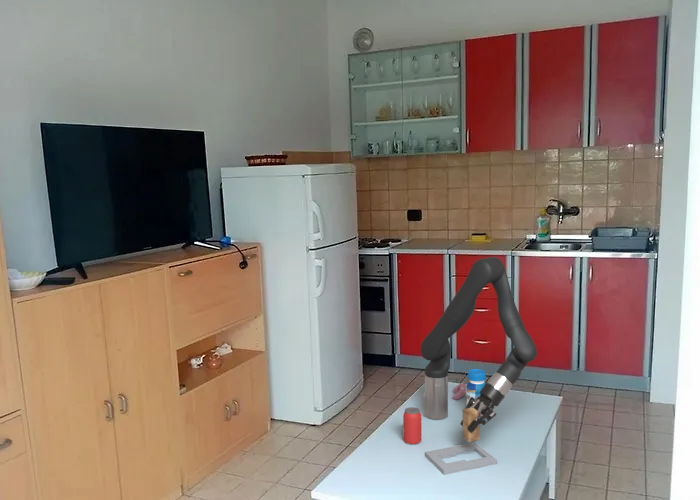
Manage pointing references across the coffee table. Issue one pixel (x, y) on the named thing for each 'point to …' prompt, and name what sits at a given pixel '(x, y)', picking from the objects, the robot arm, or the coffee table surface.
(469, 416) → the tan peg
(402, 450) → the coffee table surface
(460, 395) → the video game controller
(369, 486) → the coffee table surface
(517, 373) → the robot arm
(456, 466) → the keyhole plate
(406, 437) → the beer can
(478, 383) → the beverage bottle
